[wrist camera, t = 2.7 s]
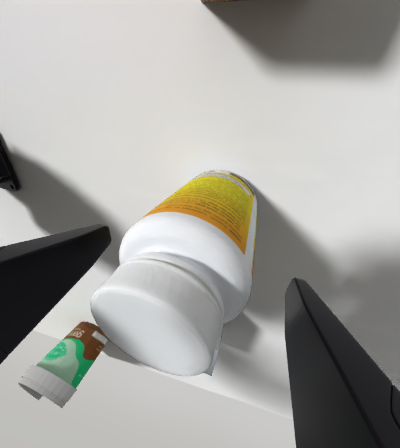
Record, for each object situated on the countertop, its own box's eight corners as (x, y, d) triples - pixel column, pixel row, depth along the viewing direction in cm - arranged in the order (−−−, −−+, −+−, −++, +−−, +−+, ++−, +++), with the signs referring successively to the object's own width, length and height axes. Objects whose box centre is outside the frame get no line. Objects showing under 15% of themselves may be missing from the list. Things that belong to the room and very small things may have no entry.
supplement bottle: (177, 176, 14) (30, 263, 5) (251, 158, 11) (213, 258, 3) (197, 238, 16) (118, 370, 7) (262, 232, 14) (260, 413, 5)
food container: (91, 312, 31) (27, 382, 22) (115, 335, 32) (63, 408, 24) (65, 322, 37) (7, 379, 29) (86, 340, 38) (37, 400, 30)
